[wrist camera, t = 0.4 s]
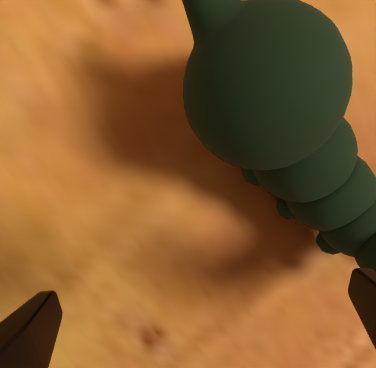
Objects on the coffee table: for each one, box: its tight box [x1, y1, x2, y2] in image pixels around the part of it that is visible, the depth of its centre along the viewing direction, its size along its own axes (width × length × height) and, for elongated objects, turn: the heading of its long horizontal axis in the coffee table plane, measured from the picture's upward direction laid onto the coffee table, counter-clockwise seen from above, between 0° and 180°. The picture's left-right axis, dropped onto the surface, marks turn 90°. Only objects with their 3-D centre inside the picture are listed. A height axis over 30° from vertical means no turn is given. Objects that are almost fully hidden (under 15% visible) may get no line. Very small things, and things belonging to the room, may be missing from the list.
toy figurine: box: [182, 0, 376, 271], centre depth 14 cm, size 9×19×25 cm
